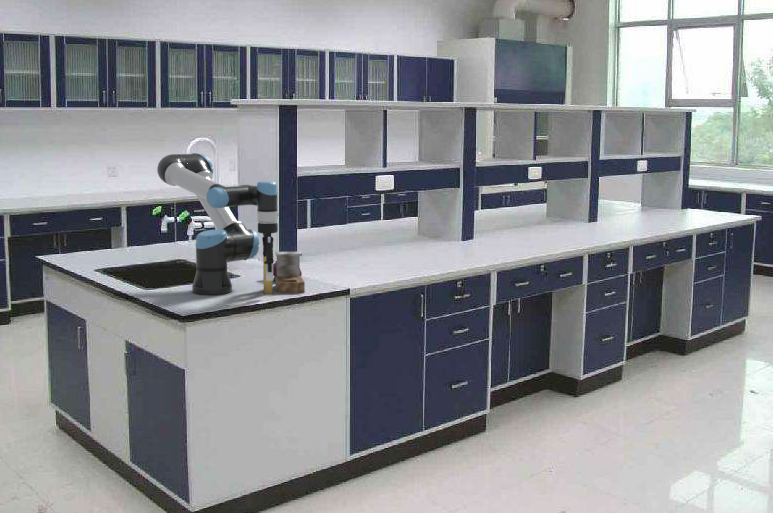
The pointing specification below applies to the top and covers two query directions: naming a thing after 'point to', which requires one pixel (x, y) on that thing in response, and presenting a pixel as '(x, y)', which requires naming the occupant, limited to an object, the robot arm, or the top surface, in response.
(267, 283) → the peg
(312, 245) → the top surface
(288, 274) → the peg socket stand
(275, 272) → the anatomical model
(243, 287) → the top surface
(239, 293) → the top surface
